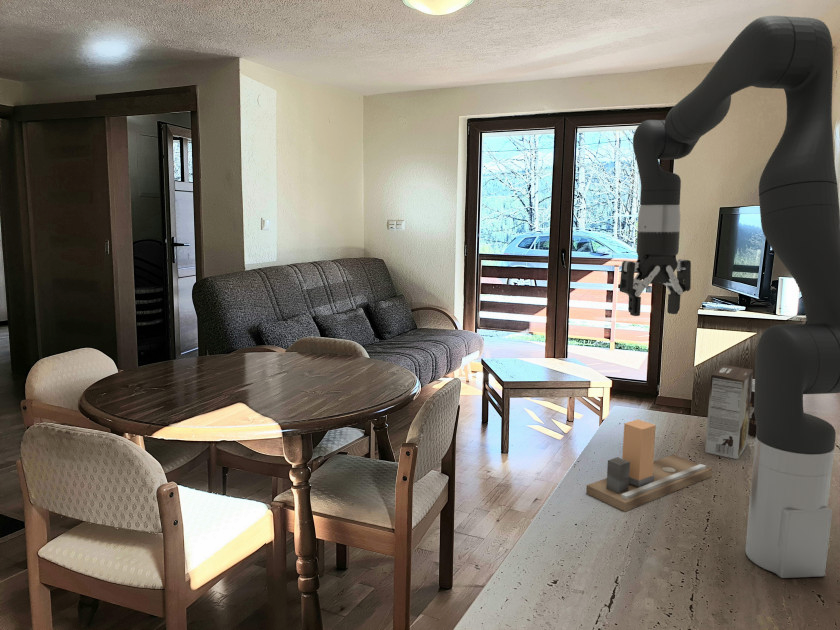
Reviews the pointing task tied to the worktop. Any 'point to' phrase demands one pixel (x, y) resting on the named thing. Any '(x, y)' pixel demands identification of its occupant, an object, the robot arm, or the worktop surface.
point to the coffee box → (729, 411)
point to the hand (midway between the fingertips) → (653, 314)
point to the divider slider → (639, 451)
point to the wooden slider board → (667, 479)
